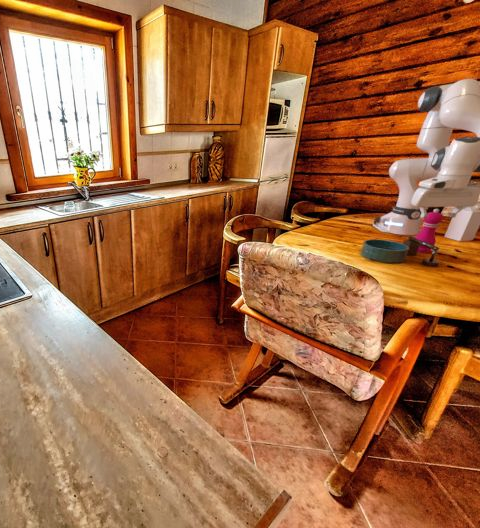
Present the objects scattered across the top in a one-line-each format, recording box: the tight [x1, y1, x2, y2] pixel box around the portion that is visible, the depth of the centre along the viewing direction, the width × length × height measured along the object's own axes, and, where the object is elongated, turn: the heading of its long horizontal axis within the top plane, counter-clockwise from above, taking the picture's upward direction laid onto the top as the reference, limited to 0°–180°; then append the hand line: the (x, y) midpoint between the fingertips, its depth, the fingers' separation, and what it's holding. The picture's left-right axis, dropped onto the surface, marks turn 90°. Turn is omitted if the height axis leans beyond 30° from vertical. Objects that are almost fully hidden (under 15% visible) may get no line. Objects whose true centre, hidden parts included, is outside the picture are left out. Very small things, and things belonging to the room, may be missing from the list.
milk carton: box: [443, 200, 480, 242], centre depth 138 cm, size 7×7×19 cm
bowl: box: [360, 239, 409, 264], centre depth 124 cm, size 15×15×6 cm
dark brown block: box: [402, 238, 420, 257], centre depth 126 cm, size 4×4×6 cm
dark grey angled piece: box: [407, 235, 440, 268], centre depth 120 cm, size 17×5×8 cm, turn 170°
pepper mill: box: [414, 208, 444, 254], centre depth 126 cm, size 7×7×20 cm
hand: (437, 217), depth 113 cm, fingers open, 8 cm apart
